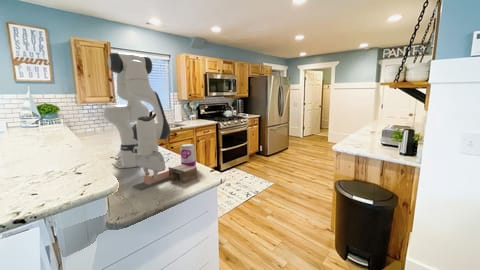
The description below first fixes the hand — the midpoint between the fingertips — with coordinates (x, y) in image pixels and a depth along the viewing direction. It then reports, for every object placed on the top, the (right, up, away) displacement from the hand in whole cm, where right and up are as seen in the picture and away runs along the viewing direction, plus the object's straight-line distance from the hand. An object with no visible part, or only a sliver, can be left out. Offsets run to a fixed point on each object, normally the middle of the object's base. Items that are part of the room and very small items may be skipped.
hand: (151, 177), depth 107 cm
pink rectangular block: (+2, -2, +4) cm, 5 cm away
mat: (0, -3, 0) cm, 3 cm away
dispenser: (+14, -2, +5) cm, 15 cm away
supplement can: (+14, 0, +20) cm, 24 cm away
